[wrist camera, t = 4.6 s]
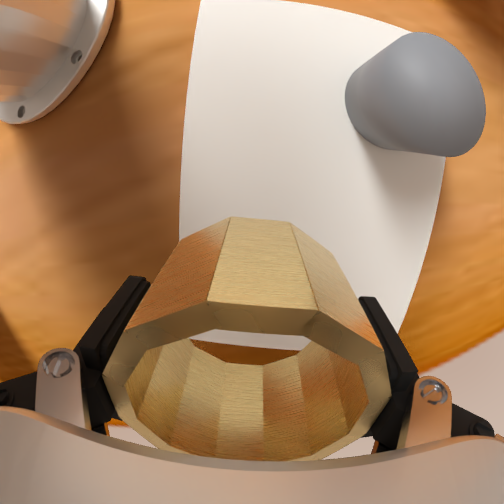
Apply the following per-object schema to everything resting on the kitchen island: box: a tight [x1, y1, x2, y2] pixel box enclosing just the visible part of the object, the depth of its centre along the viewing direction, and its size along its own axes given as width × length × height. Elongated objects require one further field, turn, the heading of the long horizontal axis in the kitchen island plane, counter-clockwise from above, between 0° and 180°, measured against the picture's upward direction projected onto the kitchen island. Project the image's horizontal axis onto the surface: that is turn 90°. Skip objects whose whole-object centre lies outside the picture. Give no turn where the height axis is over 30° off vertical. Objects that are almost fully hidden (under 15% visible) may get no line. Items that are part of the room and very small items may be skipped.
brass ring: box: [102, 216, 392, 461], centre depth 8 cm, size 7×7×5 cm
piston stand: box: [179, 0, 486, 351], centre depth 12 cm, size 20×14×6 cm
